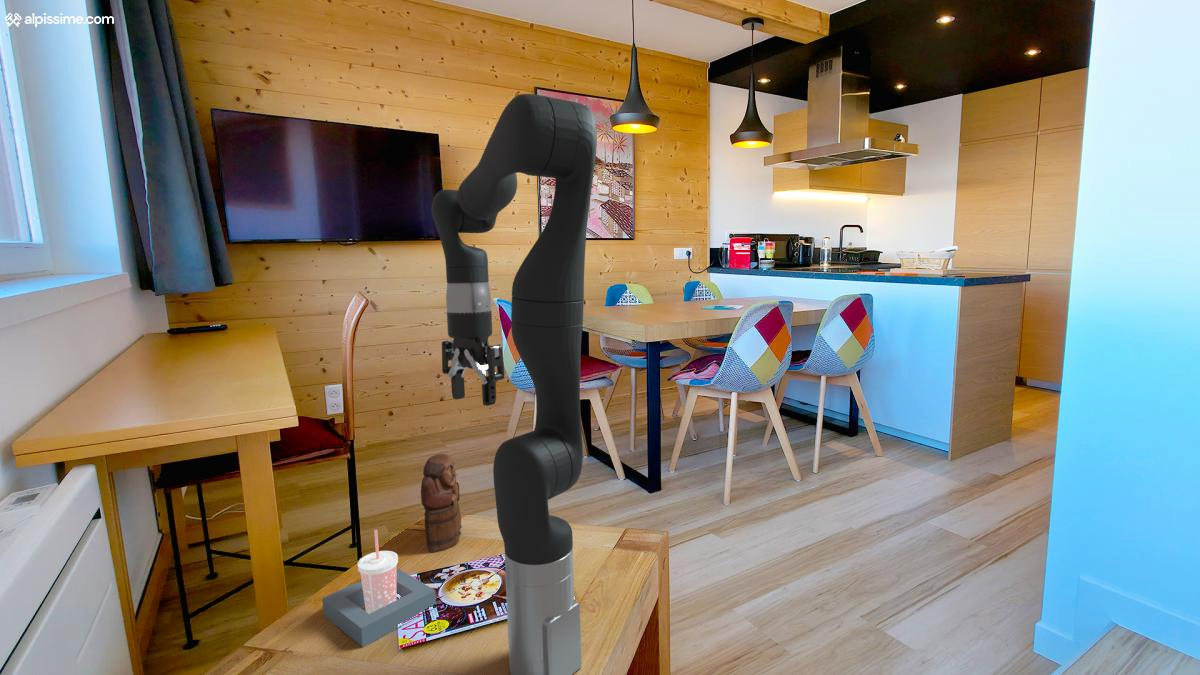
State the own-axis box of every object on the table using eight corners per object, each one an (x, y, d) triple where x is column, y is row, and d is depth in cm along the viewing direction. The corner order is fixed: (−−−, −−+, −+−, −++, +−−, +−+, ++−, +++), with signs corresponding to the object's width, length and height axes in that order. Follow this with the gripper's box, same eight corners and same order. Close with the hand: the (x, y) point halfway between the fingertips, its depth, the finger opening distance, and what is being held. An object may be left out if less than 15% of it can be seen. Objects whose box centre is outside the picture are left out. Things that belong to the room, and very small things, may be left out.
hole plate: (436, 607, 93) (435, 590, 93) (362, 647, 84) (361, 628, 83) (395, 581, 101) (394, 565, 101) (323, 615, 92) (322, 598, 91)
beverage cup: (408, 602, 95) (403, 522, 93) (389, 625, 89) (383, 540, 87) (374, 600, 96) (368, 520, 94) (353, 622, 90) (346, 538, 88)
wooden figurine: (455, 552, 111) (450, 464, 109) (422, 554, 111) (416, 465, 109) (465, 525, 123) (461, 445, 121) (435, 527, 123) (431, 446, 121)
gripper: (513, 309, 96) (517, 403, 98) (461, 306, 105) (466, 392, 107) (477, 312, 90) (482, 411, 92) (426, 309, 99) (431, 400, 101)
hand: (473, 401), depth 99 cm, fingers open, 8 cm apart
